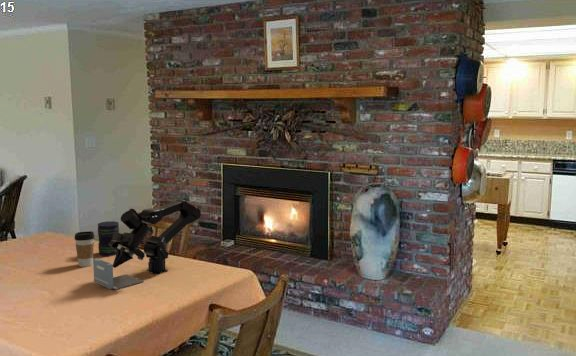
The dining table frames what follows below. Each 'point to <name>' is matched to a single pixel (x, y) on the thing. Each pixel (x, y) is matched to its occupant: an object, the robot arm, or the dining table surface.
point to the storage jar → (107, 237)
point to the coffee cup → (85, 248)
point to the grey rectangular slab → (103, 273)
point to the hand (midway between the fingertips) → (113, 267)
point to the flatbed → (125, 281)
